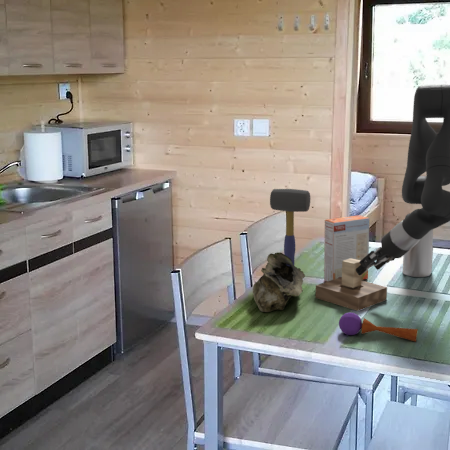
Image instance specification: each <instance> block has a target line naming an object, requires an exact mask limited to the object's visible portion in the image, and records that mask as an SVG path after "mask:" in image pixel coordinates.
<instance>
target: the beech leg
mask: <svg viewBox="0 0 450 450" xmlns="http://www.w3.org/2000/svg"><path fill="white" fill-rule="evenodd" d="M360 261H361V260H356V259H352V258H350V259H347V260H344V261H342V285H341V286H342V287H343V288H346V289H349V290H356V289H359V287H361V286H362V285H361V282H362V281H363V280H362V275H358V273H357V272H356V268H358V267H359V266H360V265H361V264H360V263H359V262H360Z"/></svg>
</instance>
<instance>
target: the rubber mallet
mask: <svg viewBox="0 0 450 450" xmlns="http://www.w3.org/2000/svg"><path fill="white" fill-rule="evenodd" d="M269 195H270V196H269V205H270V208H271V209H272V210H274V211H279V212H281V211H282V212H286V215H285V216H286V218H285V236H284V242H283V243H284V244H283V254H284V255H286V256H287V257H289V258H290V259H291V260H292V261H291V262H292V263H293V265H294V266H295V255H296V237H295V232H294V231H295V221H294V219H295V216H294V215H295V213H294V212H299V213H301V212H302V213H304V212H308V211H309V210H310V206H311V193H310V191H308V190H306V189H305V190H303V189H297V188H274V189H272V190H271V192H270V194H269ZM287 266H290V265H287Z"/></svg>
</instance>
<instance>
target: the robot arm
mask: <svg viewBox="0 0 450 450" xmlns="http://www.w3.org/2000/svg"><path fill="white" fill-rule="evenodd" d="M412 108H413V109H412V110H413V111H412V125H411V133H410V136H409V137H410V138H409V142H408V143H409V144H408V151H407V158H406V159H407V160H406V161H407V163H406V168H405V169H406V170H405V173H404V177H403V181H402V186H401V196H402V197H401V198H402V200H403V202H404V203H405V204H409V205H410V204H411V205H421V208H417V209H414V210H413V211H411V212H410V213H407V214H406V215H405V218H404V219H402V220H401V221H400V222H398V223H397V224H396V225H395V226H393V228H391V229H390V230H389V231H388V232H387V233H386V234H385V235H384V236H383V237H382V239H381V240H380V241H381V242H380V244H381V246H380V247H378V248H376V250H375V251H374V250H371V251H369V254H368V255H367V256H366V257H364V258H363V259H362V260H361V261H360V262H359V263H360V264H361V265H360V266H359V267H358V268H356V272H357V273H358V275H362V274H363V273H364V272H365V271H366V270H367V269H368V270H369V269H370V268H371V267H373V266H374V268H375V269H376V270H377V271H379V270H380V269H381V268H383V267H384V266H385V265H386V264H389V263H390V261H391V262H392V261H395V259H401V258H403V260H402V274H403V275H405V276H408V277H413V278H425V277H429V276H431V273H432V271H433V257H434V255H433V254H434V245H433V242H434V239H433V237H434V229H437V228H439V227H441V226H443V225H445V224H447V223H448V222H450V191H449V190H446V189H443V187H445V186H448V185H450V84H423V85H420V86H418V87H417V88H416V90H415V93H414V96H413V107H412ZM427 119H442V120H443V121H442V126H441V128H440V130H439V132H438V133H437V132H436V130H435V129H434V128H433V127H432V126H431V125H430V123H429V122H428V121H427ZM425 173H426V175H424V174H425Z"/></svg>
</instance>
